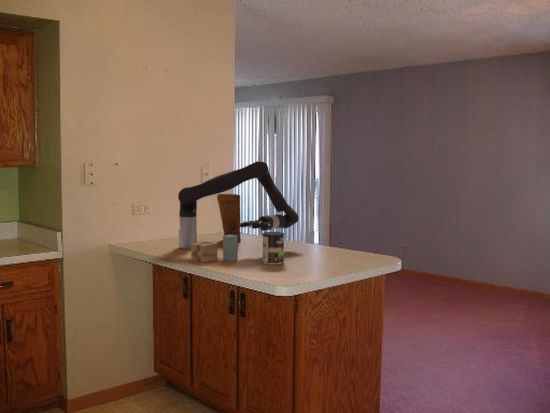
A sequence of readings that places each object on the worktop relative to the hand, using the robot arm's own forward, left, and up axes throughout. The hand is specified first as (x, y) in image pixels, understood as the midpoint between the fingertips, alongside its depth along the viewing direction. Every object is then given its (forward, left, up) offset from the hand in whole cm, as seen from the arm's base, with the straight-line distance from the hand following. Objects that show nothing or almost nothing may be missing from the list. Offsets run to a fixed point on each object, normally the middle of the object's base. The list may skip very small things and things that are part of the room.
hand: (246, 226), depth 283 cm
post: (0, -11, -16) cm, 19 cm away
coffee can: (+20, -2, -16) cm, 25 cm away
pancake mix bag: (-44, +31, -16) cm, 56 cm away
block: (-10, -19, -16) cm, 27 cm away
